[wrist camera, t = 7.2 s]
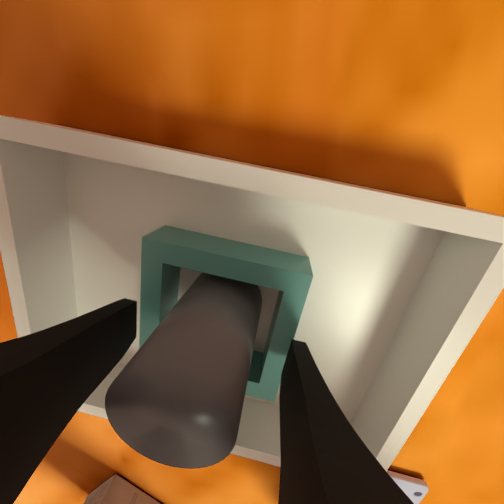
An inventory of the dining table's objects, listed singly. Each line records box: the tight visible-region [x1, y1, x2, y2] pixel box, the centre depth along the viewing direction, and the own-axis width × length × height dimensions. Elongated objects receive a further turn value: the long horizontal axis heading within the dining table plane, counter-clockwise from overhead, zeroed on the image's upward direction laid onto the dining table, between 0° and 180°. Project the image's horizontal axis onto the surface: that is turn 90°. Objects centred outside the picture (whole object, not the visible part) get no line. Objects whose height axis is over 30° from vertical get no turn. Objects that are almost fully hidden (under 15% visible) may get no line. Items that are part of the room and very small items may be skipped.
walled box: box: [0, 115, 504, 471], centre depth 13 cm, size 15×20×4 cm
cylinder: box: [105, 273, 262, 468], centre depth 10 cm, size 4×4×7 cm
